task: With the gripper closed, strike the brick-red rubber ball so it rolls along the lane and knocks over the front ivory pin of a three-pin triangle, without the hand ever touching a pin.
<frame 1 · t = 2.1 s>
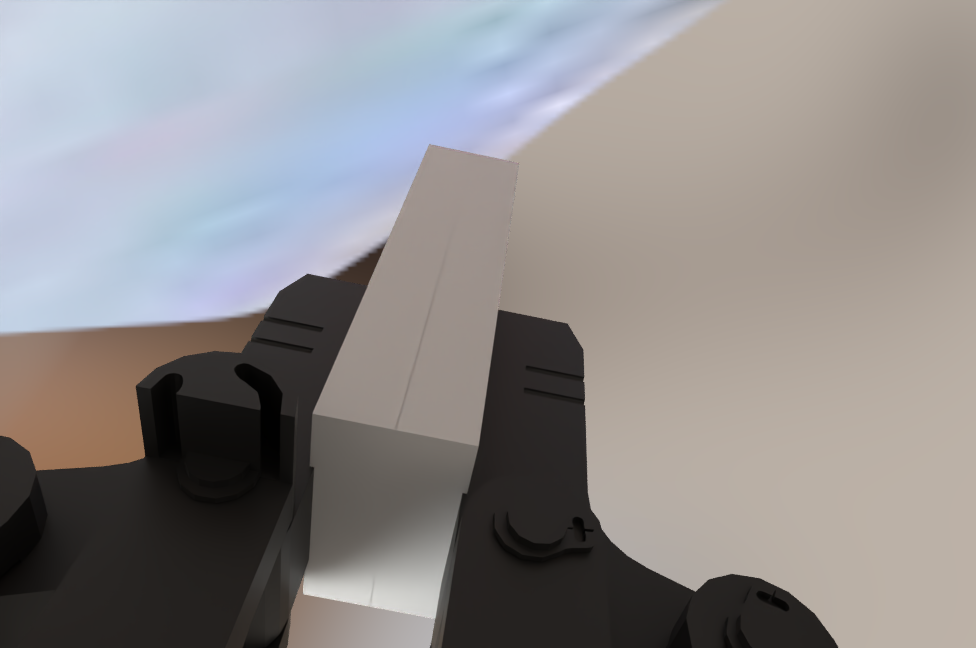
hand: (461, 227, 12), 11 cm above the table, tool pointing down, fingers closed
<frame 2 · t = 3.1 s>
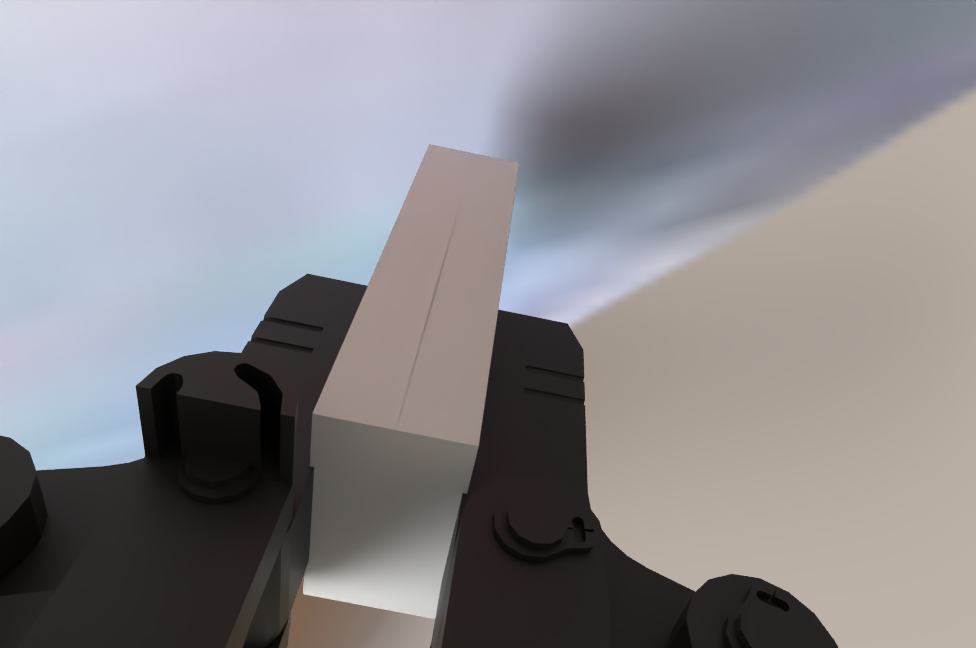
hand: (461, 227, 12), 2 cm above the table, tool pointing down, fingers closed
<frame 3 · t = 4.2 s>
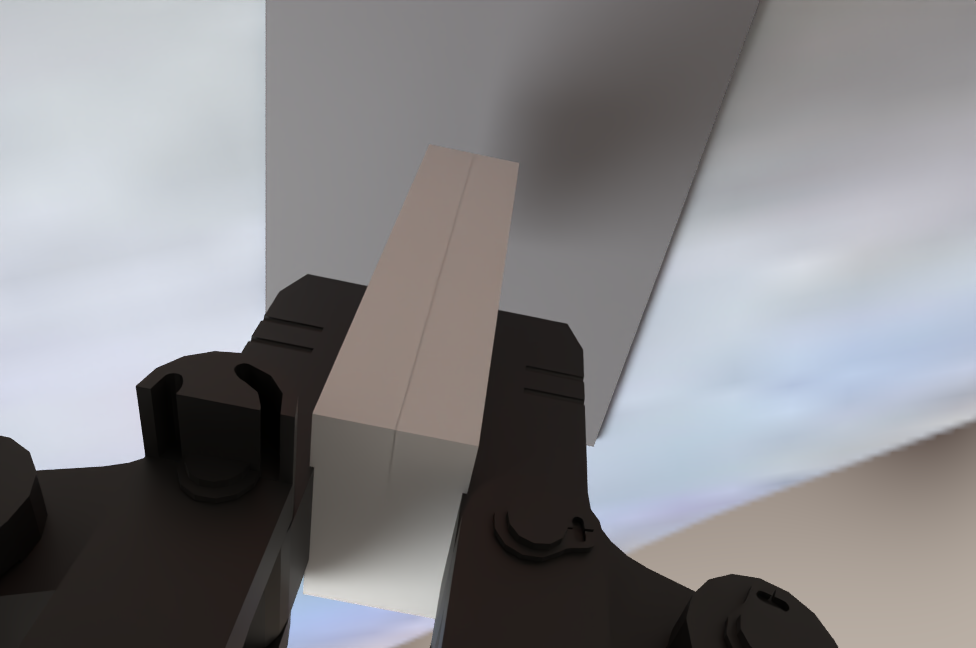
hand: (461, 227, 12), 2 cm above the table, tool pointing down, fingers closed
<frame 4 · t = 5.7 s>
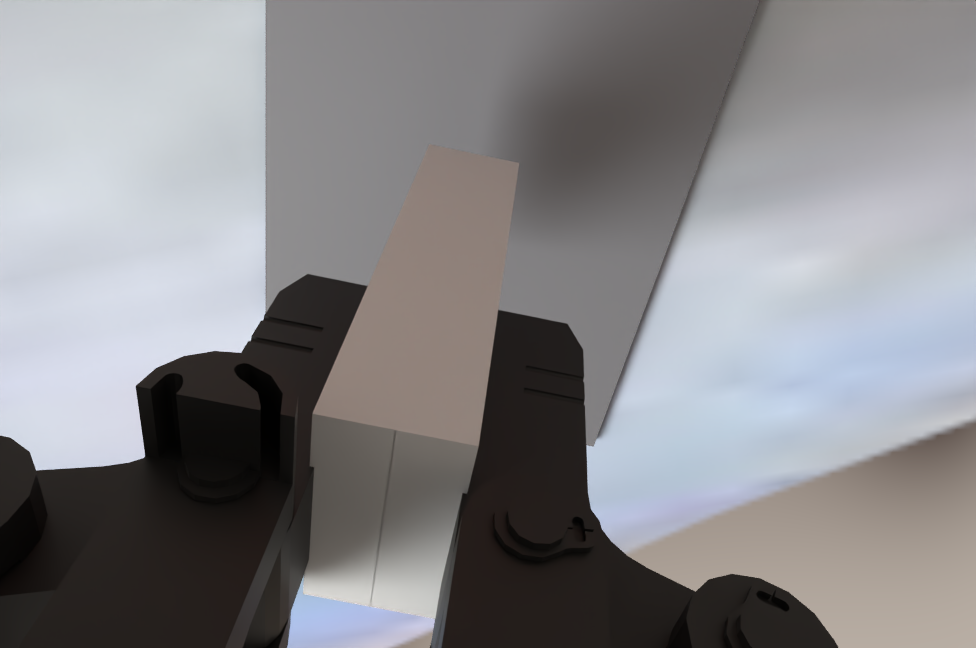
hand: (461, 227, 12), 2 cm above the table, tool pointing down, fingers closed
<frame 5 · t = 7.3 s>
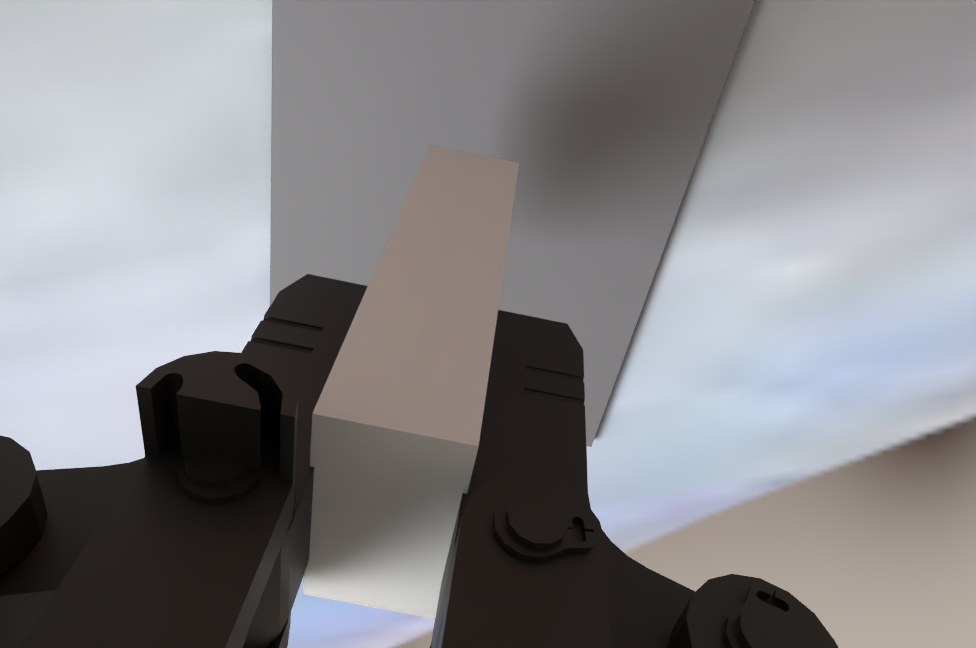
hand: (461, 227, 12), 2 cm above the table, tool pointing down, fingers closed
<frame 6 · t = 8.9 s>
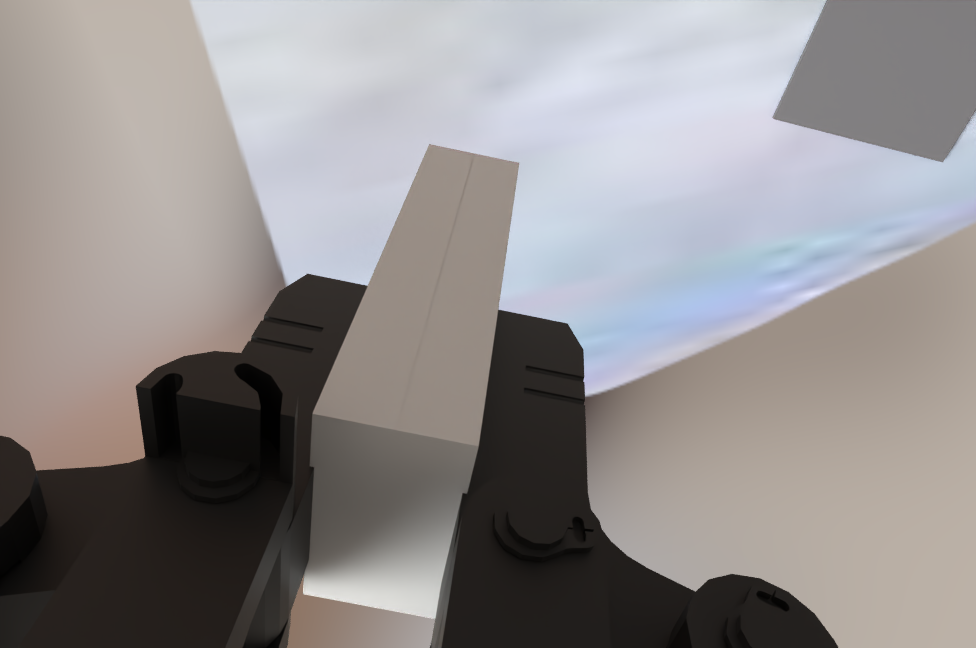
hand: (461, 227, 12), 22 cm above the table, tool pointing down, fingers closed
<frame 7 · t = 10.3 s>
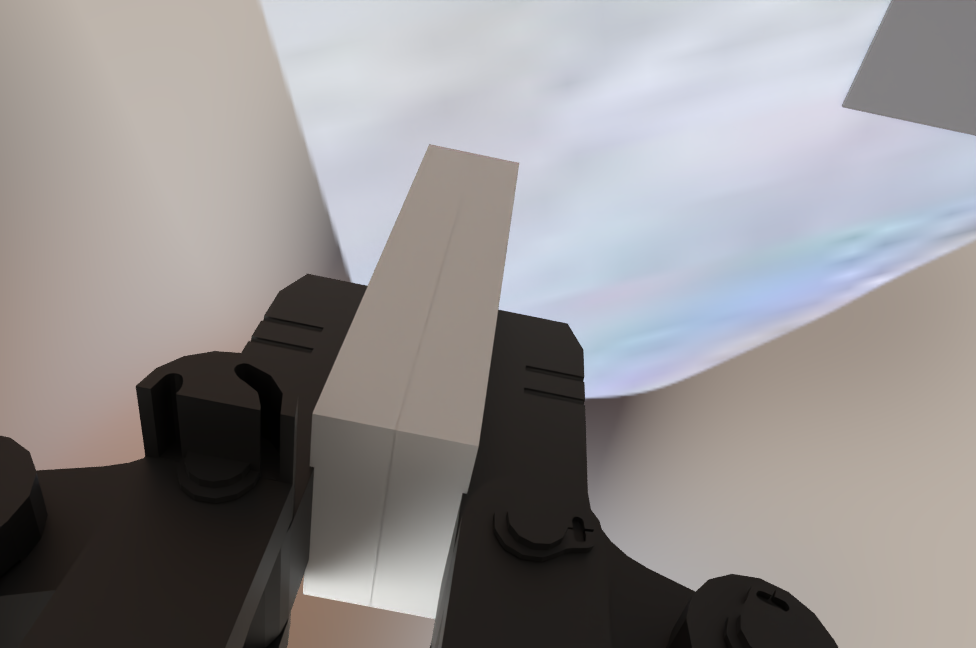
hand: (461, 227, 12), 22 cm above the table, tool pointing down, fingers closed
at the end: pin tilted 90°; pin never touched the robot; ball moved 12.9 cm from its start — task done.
